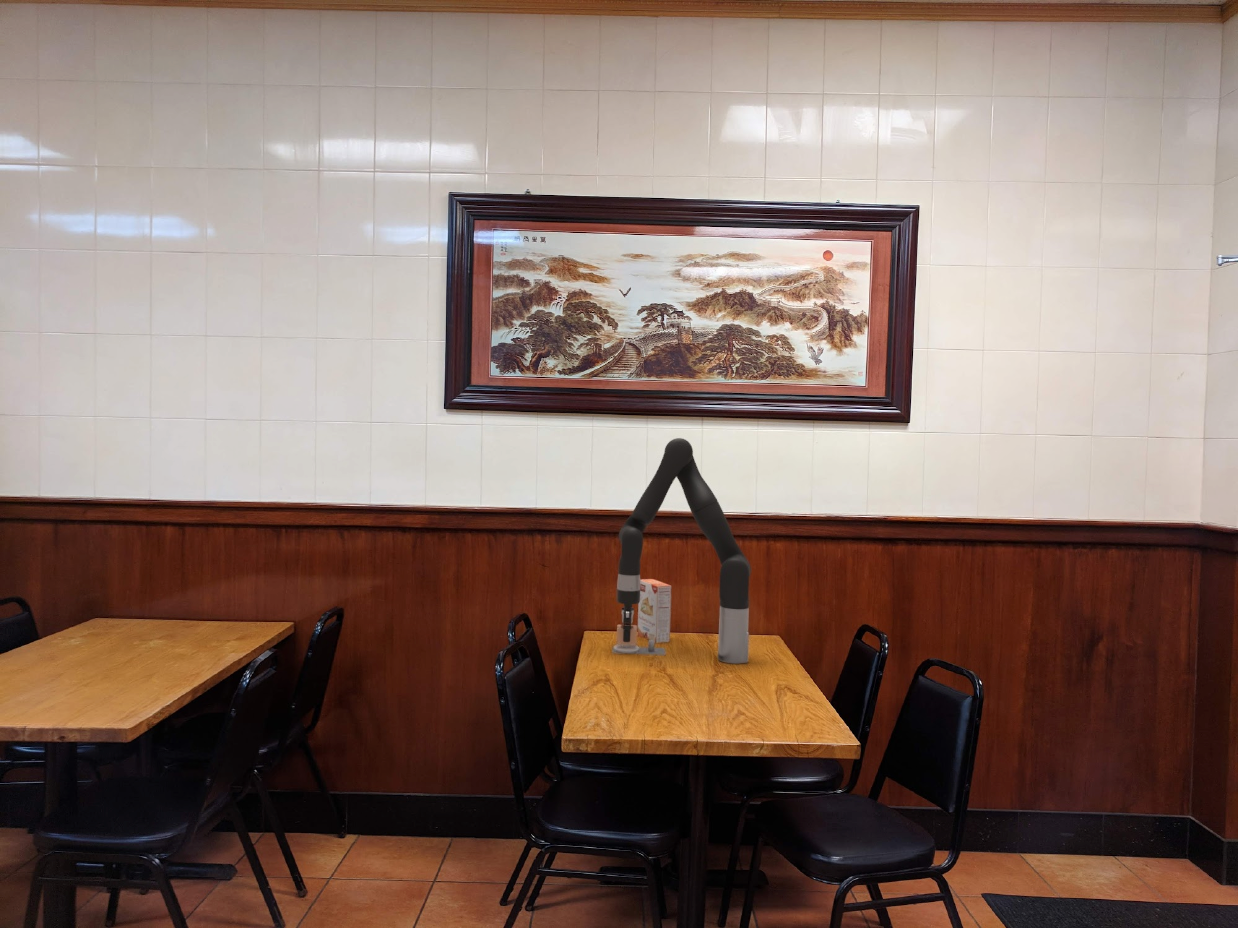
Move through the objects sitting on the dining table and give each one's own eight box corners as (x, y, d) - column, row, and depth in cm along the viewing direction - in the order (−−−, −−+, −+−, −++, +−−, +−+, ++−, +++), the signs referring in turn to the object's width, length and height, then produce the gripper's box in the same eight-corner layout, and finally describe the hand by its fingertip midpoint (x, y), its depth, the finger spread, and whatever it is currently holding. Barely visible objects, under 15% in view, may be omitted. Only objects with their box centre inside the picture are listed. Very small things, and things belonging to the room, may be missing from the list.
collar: (636, 640, 267) (637, 625, 267) (636, 645, 260) (637, 629, 260) (617, 639, 267) (617, 624, 267) (616, 644, 261) (617, 628, 260)
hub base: (664, 652, 268) (665, 633, 268) (665, 659, 259) (666, 639, 259) (612, 650, 268) (613, 631, 268) (612, 657, 259) (612, 637, 259)
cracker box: (636, 637, 288) (638, 578, 287) (651, 636, 290) (653, 578, 290) (654, 647, 275) (656, 585, 274) (670, 645, 277) (672, 584, 277)
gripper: (640, 592, 256) (638, 645, 256) (640, 584, 270) (638, 634, 271) (616, 591, 256) (614, 644, 257) (617, 583, 271) (615, 633, 271)
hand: (626, 639), depth 264 cm, fingers closed on collar, 6 cm apart
